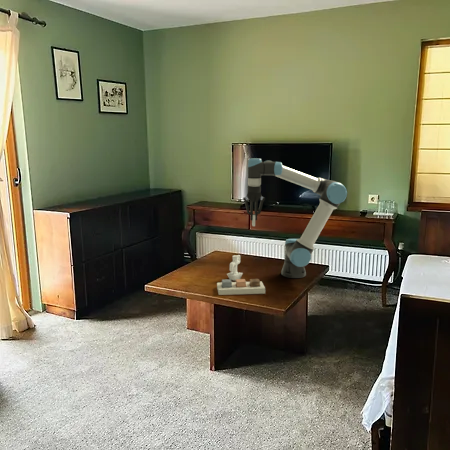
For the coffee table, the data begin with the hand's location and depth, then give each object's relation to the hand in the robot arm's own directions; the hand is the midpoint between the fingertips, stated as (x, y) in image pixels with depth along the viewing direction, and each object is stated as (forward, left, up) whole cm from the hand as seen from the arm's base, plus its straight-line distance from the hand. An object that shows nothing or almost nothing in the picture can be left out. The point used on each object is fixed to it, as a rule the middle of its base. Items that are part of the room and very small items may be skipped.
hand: (253, 225), depth 259 cm
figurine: (+10, -6, -35) cm, 37 cm away
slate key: (+17, +14, -33) cm, 39 cm away
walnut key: (+1, +14, -33) cm, 35 cm away
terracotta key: (+9, +14, -33) cm, 37 cm away
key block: (+9, +14, -34) cm, 38 cm away
